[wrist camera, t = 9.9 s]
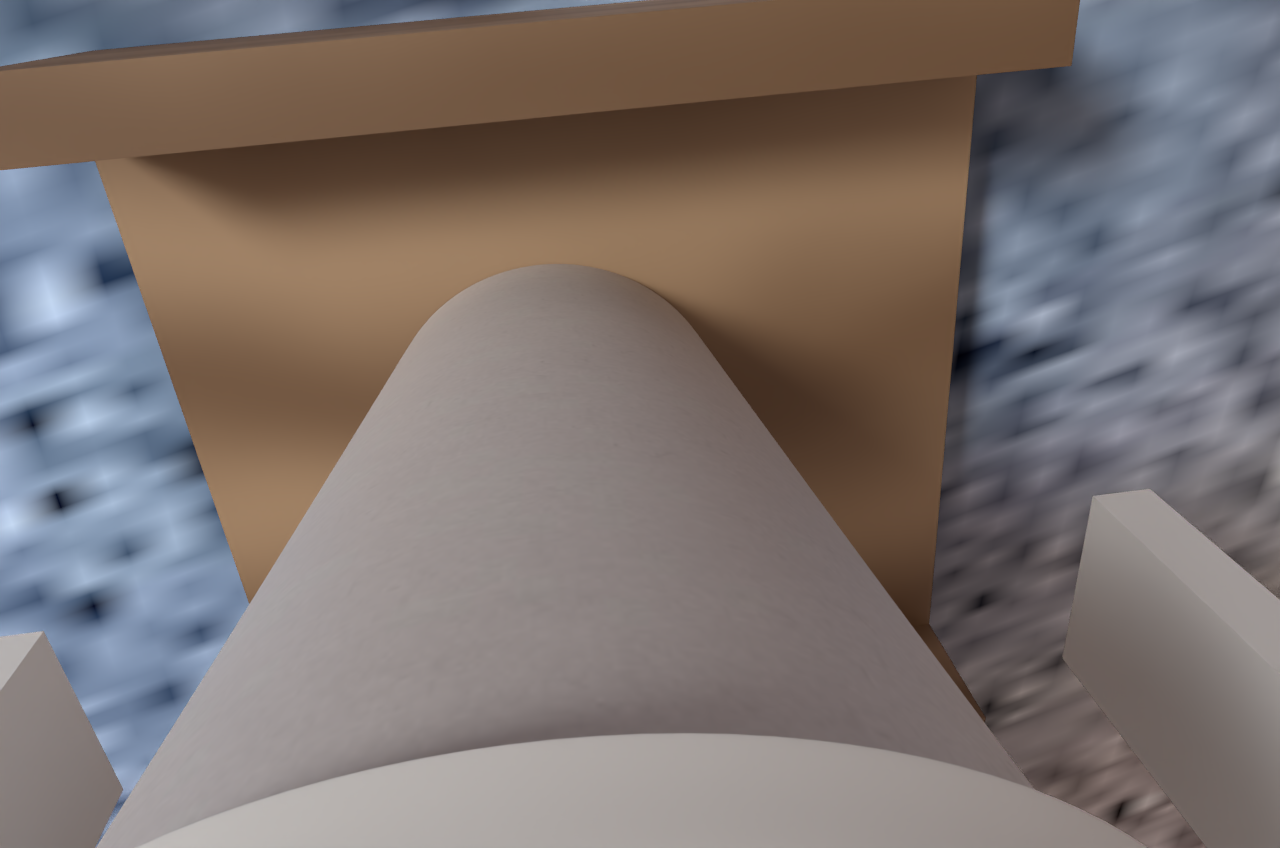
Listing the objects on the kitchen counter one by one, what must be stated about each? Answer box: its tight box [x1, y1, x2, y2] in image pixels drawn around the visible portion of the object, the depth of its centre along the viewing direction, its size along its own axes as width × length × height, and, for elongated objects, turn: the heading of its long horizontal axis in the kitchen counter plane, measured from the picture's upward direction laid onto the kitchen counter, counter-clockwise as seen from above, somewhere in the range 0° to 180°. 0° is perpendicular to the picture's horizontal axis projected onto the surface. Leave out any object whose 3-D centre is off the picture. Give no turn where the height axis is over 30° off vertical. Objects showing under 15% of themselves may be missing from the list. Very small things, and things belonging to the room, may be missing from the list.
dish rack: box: [0, 0, 1080, 723], centre depth 16 cm, size 26×15×12 cm, turn 5°
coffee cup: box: [96, 264, 1148, 848], centre depth 11 cm, size 10×10×15 cm
